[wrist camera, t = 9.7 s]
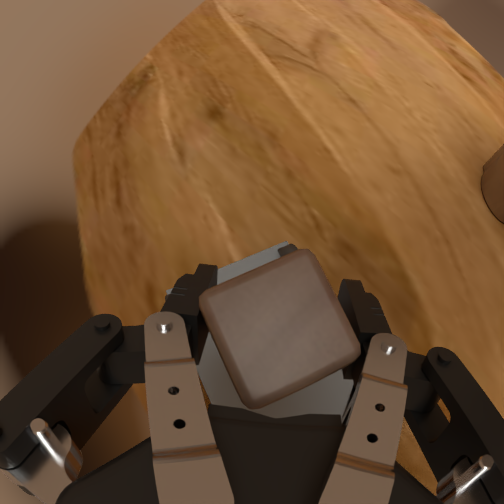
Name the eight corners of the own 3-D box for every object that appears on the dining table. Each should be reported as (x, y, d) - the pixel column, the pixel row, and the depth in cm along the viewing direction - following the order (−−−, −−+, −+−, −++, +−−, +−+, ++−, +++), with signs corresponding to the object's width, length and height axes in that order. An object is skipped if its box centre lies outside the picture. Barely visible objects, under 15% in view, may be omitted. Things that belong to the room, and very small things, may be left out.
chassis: (172, 296, 31) (158, 284, 26) (284, 249, 33) (289, 230, 28) (262, 496, 24) (263, 517, 20) (374, 444, 26) (394, 456, 21)
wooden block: (218, 324, 17) (191, 292, 10) (286, 293, 18) (311, 240, 10) (249, 391, 16) (247, 416, 8) (318, 359, 16) (369, 355, 9)
